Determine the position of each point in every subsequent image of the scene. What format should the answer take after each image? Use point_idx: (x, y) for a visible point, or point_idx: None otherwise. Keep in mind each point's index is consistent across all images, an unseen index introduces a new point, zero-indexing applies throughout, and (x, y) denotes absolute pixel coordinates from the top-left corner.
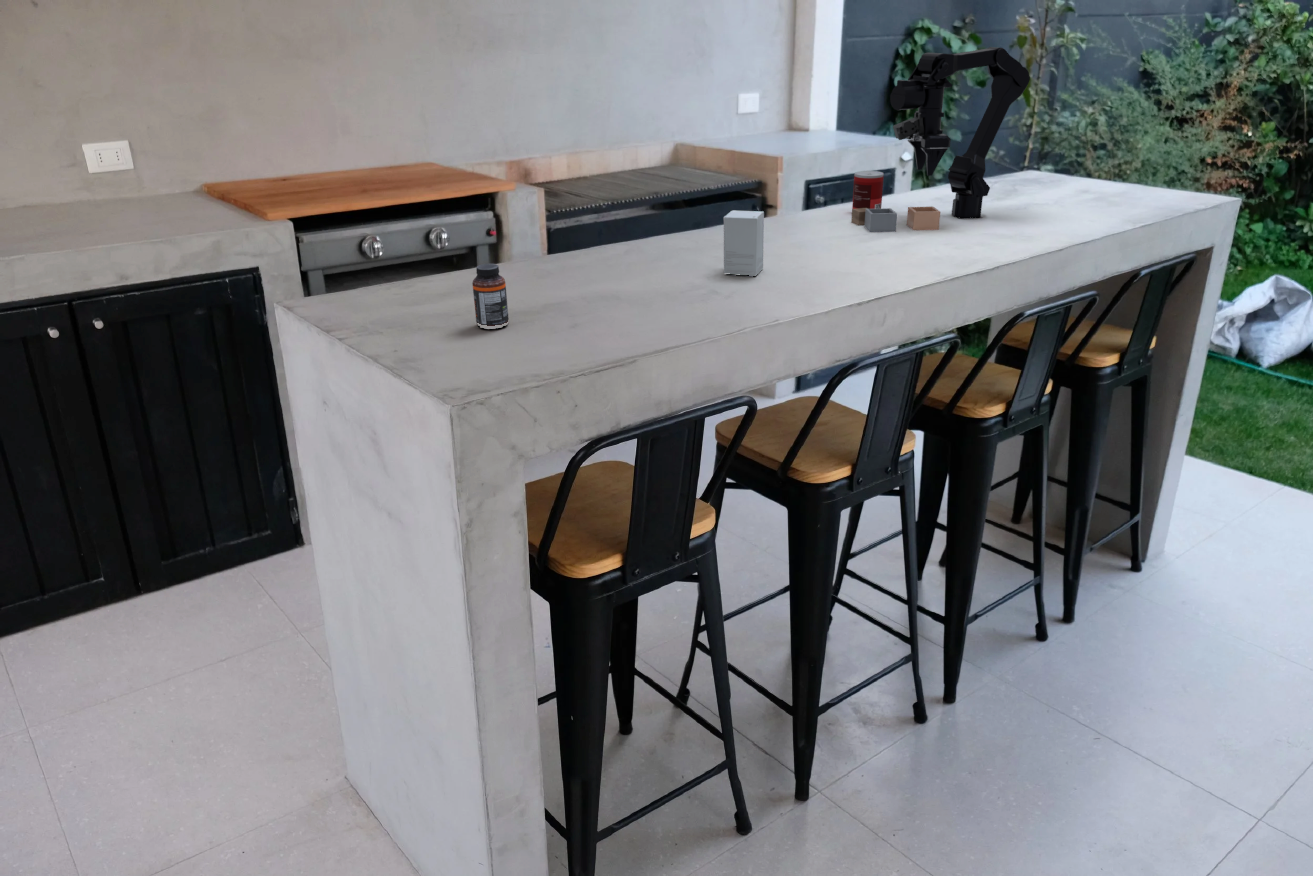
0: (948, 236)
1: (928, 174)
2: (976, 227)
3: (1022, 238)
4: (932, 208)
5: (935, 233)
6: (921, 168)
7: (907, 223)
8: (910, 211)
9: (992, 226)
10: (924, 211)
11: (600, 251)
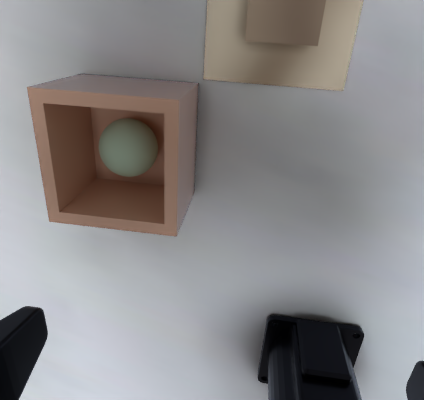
0: (17, 188)
1: (20, 316)
2: (155, 319)
3: None
4: (145, 219)
5: None
6: (407, 394)
7: (180, 84)
8: (120, 91)
9: (165, 361)
10: (49, 148)
11: None
